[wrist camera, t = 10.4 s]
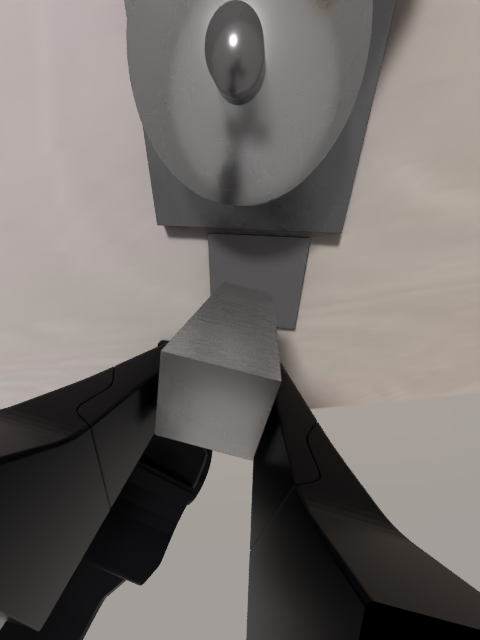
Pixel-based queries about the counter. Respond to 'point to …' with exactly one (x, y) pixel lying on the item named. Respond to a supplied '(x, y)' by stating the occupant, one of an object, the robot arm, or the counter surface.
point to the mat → (261, 268)
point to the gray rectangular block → (221, 373)
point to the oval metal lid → (246, 88)
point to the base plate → (310, 195)
